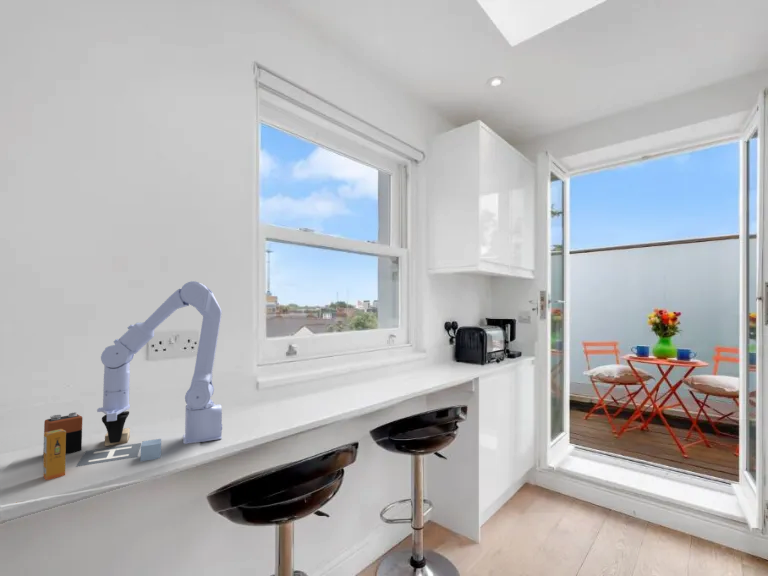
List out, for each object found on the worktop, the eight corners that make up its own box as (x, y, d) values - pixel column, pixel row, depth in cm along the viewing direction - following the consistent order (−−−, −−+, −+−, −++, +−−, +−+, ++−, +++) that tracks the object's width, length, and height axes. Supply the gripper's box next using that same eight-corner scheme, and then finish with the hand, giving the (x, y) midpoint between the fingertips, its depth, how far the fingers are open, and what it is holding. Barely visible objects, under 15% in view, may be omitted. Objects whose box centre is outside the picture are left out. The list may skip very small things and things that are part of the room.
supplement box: (61, 472, 85) (63, 427, 86) (65, 477, 83) (67, 430, 84) (42, 478, 83) (43, 431, 83) (45, 482, 81) (47, 434, 81)
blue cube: (161, 454, 96) (161, 438, 96) (159, 460, 92) (160, 443, 92) (142, 457, 94) (142, 441, 94) (140, 463, 90) (140, 446, 91)
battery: (42, 456, 95) (44, 416, 95) (76, 448, 100) (77, 409, 101) (47, 460, 92) (48, 419, 93) (82, 452, 97) (83, 412, 98)
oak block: (129, 438, 107) (129, 427, 107) (127, 444, 103) (127, 432, 103) (107, 441, 105) (108, 430, 105) (104, 447, 101) (104, 435, 101)
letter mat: (141, 444, 103) (141, 442, 103) (137, 458, 93) (137, 456, 93) (86, 452, 97) (86, 450, 97) (75, 468, 87) (75, 466, 87)
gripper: (103, 386, 106) (101, 436, 105) (92, 397, 93) (90, 453, 92) (133, 384, 109) (132, 432, 109) (126, 394, 96) (125, 448, 96)
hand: (115, 441), depth 101 cm, fingers closed
